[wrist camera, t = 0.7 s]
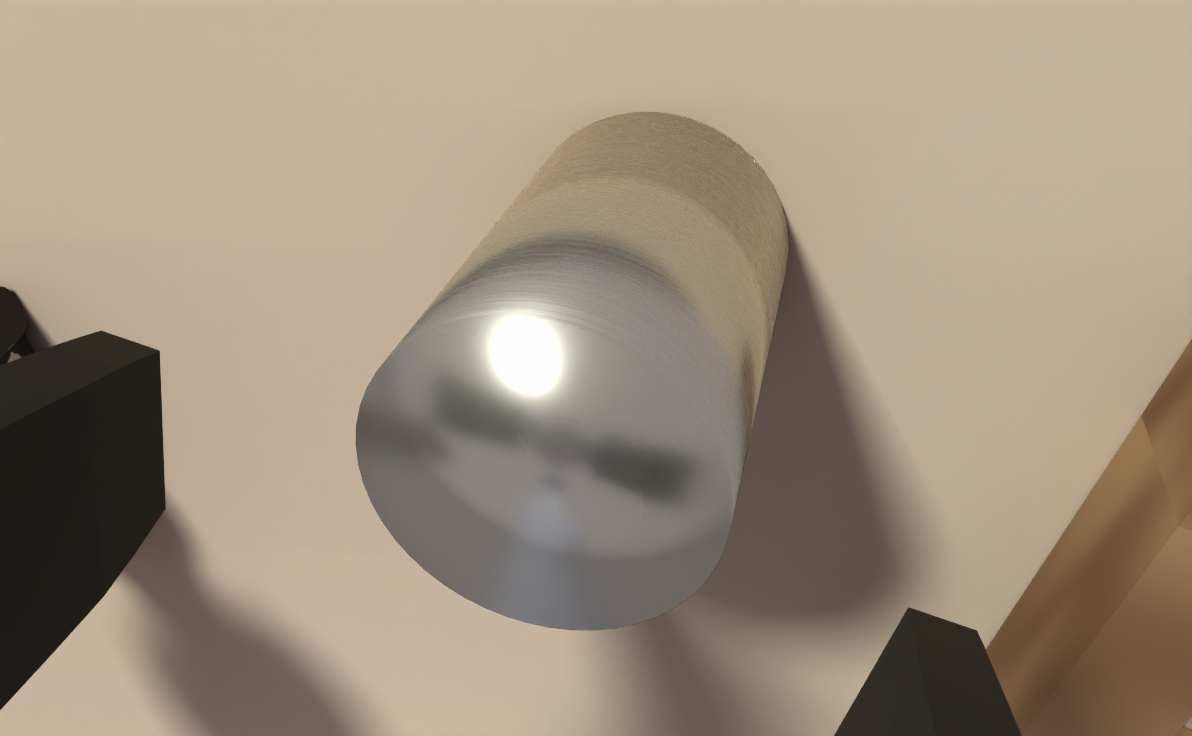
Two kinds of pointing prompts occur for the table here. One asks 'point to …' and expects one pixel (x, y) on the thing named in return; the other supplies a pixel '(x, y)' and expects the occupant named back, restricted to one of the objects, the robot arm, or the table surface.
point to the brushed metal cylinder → (587, 381)
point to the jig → (1114, 594)
